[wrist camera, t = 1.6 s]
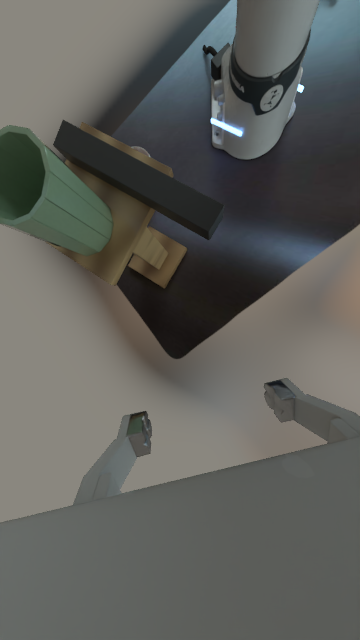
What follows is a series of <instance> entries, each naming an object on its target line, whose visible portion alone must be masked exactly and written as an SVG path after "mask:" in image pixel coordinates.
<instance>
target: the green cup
mask: <svg viewBox="0 0 360 640" xmlns="http://www.w3.org/2000/svg"><path fill="white" fill-rule="evenodd" d="M0 224H2V225H5V226H7V227H10V228H12V229H15V230H18V231H20V232H23V233H25V234H28V235H30V236H33V237H35V238H38V239H40V240H43V241H45V242H48V243H51V244H53V245H56V246H58V247H61V248H63V249H66V250H68V251H71V252H74V253H77V254H80V255H84V256H90V255H93V254H96V253H99V252H100V251H101V250H102V249H103V248H104V247H105V246H106V244H107V243H108V242H109V241H110V238H111V234H112V230H113V225H114V223H113V219H112V214H111V210H110V208H109V206H108V205H107V204H106V203H105V202H104V201H103V200H102V199H101V198H100V197H99V196H98V195H97V194H96V193H95V192H94V191H93V190H92V189H91V188H90V187H89V186H88V185H87V184H86V183H85V182H84V181H83V180H82V179H81V178H80V177H79V176H77V175H76V174H75V173H74V172H73V171H72V170H71V169H70V168H69V167H68V166H67V165H66V164H65V163H64V162H63V161H62V160H61V159H60V158H59V157H58V156H57V155H56V154H55V153H54V152H53V151H52V150H51V149H50V148H49V147H48V146H46V145H45V144H44V143H43V142H42V141H41V140H40V139H39V138H38V137H37V136H36V135H35V134H34V133H33V132H32V131H31V130H30V129H28V128H23V127H18V126H12V125H9V126H6V127H4V128H2V129H1V130H0Z"/></svg>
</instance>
